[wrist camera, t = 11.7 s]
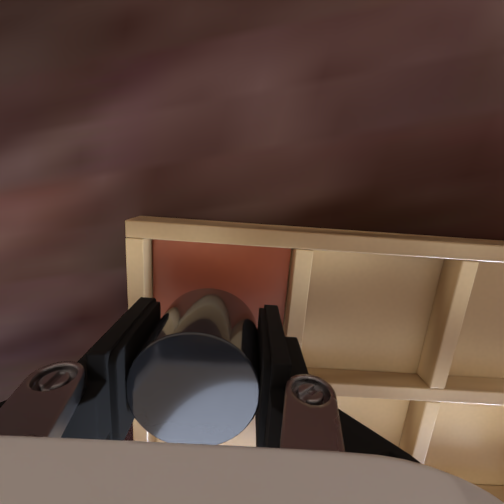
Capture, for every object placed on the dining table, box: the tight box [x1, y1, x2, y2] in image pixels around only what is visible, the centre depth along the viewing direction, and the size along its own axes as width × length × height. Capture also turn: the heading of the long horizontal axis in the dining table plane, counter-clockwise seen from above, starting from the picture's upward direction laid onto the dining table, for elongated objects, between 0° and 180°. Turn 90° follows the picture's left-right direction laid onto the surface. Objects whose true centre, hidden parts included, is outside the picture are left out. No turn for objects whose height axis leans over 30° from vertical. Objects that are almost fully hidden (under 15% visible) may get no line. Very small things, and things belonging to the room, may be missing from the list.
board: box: [125, 216, 504, 502], centre depth 16 cm, size 24×24×2 cm
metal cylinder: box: [126, 288, 260, 445], centre depth 10 cm, size 4×4×4 cm
